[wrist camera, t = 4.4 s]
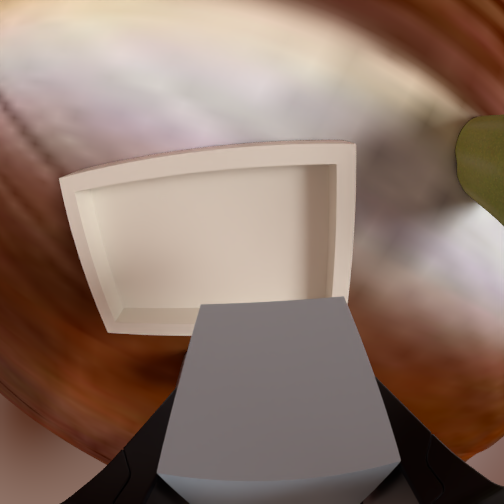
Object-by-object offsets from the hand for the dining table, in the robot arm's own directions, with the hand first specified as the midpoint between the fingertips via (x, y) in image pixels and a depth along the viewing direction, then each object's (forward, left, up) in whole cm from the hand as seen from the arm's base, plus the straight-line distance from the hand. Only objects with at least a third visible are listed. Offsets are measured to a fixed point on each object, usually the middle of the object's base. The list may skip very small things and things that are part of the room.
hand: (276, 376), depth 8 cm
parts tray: (0, +4, -11) cm, 11 cm away
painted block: (0, 0, -1) cm, 1 cm away
